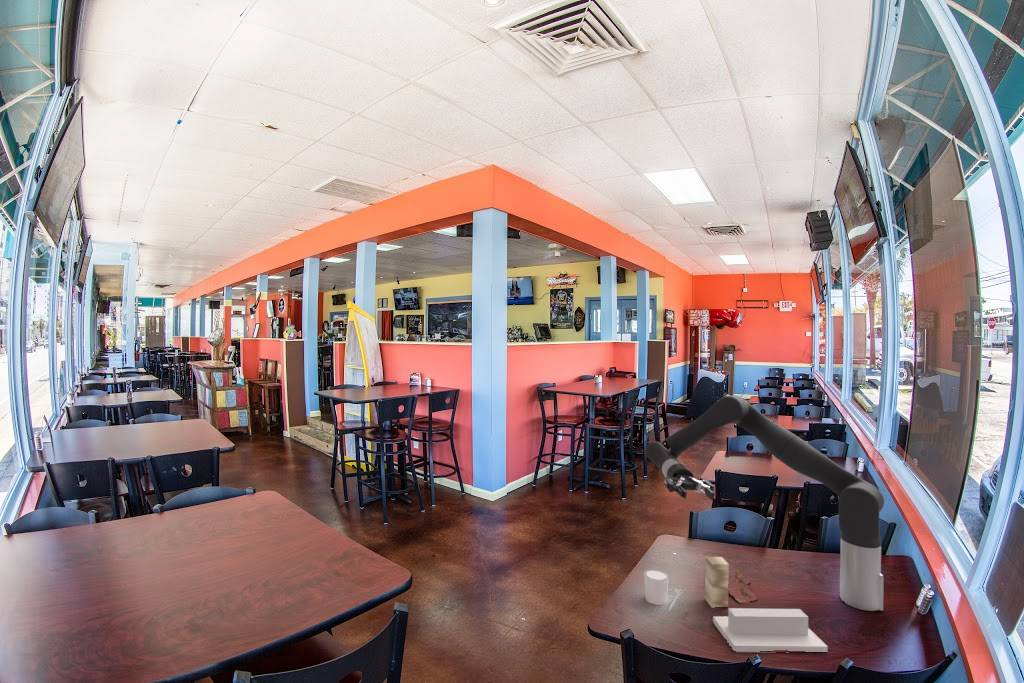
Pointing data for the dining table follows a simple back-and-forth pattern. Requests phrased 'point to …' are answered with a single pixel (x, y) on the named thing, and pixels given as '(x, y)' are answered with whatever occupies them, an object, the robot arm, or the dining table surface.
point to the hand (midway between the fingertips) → (698, 496)
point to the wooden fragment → (741, 588)
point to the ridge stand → (768, 630)
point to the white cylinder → (656, 586)
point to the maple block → (716, 582)
